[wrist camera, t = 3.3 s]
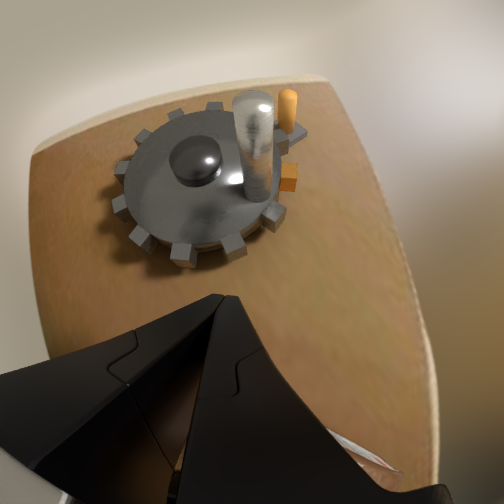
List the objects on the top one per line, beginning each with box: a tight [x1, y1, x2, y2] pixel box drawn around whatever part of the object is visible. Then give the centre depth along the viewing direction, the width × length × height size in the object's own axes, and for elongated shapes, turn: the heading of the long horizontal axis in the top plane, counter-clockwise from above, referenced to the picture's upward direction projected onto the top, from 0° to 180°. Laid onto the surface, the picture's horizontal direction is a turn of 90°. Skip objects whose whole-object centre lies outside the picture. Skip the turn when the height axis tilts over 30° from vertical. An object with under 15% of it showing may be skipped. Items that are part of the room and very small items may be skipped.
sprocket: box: [112, 90, 297, 268], centre depth 18 cm, size 15×15×11 cm
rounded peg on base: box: [273, 89, 307, 147], centre depth 24 cm, size 3×3×5 cm
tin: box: [326, 427, 404, 492], centre depth 14 cm, size 15×3×8 cm, turn 54°
